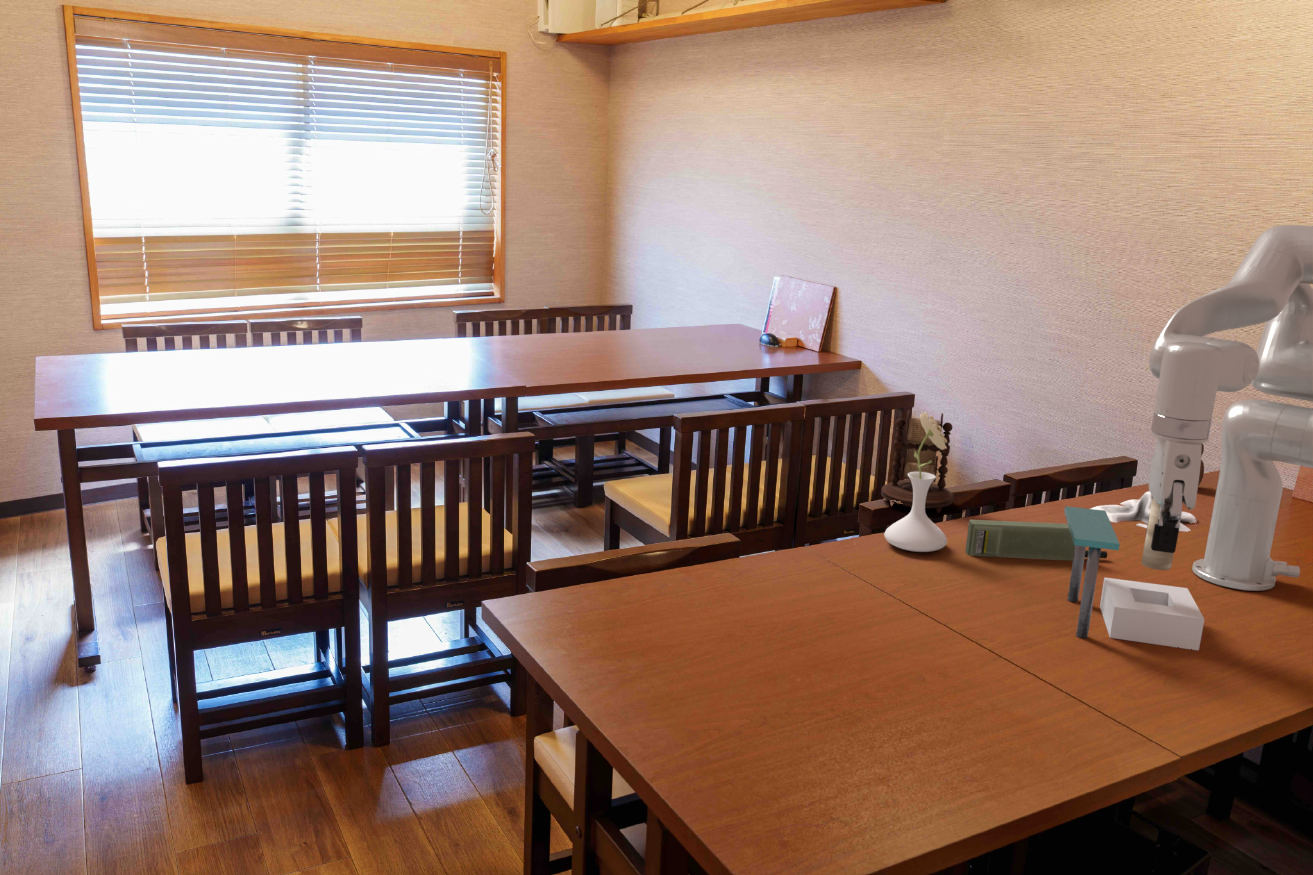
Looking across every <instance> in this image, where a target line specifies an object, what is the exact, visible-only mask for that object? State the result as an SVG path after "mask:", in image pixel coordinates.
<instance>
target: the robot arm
mask: <svg viewBox="0 0 1313 875" xmlns="http://www.w3.org/2000/svg"><path fill="white" fill-rule="evenodd" d="M1311 285H1313V225H1297V224H1296V225H1295V224H1289V225H1288V224H1284V225H1277V226H1273V227H1270V228H1268V229H1266V230H1265V231H1263V232H1261V233H1260V235H1259V236H1258V237H1257V238H1256V240H1255V241H1254V243H1253V245H1251V247H1250V249H1249V250H1248V252H1247V254H1246V255H1245V256H1244V258H1243V260H1242V262H1240V264H1239V266H1238V267H1237V268H1236V270H1235V272H1234V274H1233V275H1232V277H1230V280H1229V282H1228V283H1227V284H1226V285H1224V286H1221V287H1219V288H1216V289H1214V290H1211V291H1209V292H1207V293H1206V294H1204V295H1201V296H1199V297H1198V298H1195V299H1193V300H1191V301H1190V302H1188V303H1186V304H1184V305H1183V306H1181V307H1180V308H1179V309H1177V310H1176V311H1175V312H1174V313H1173V314H1172V316H1170V317H1169V319H1168V320H1167V322H1166V324H1164V327H1163V328H1162V329H1161V331H1160V333H1159V334H1158V335H1157V337H1156V339H1155V341H1154V343H1153V344H1152V347H1151V351H1150V354H1149V358H1148V365H1149V366H1148V367H1149V370H1150V372H1151V374H1152V375H1153V376H1154V378H1156V379H1157V380H1158V384H1157V388H1156V389H1157V391H1156V396H1155V402H1154V406H1153V407H1154V409H1153V414H1152V421H1151V427H1150V432H1149V435H1151V436H1152V437H1155V438H1156V439H1155V443H1154V444H1155V445H1154V450H1153V455H1152V459H1151V460H1152V461H1151V465H1150V471H1149V472H1150V473H1149V478H1148V490H1149V491H1150V493H1151V495H1152V496H1153V499H1155V501H1156V502H1157V503H1158V504H1159V505H1160V507H1159V515H1158V523H1157V524H1155V526H1154V532H1153V538H1152V543H1151V549H1152V550H1153V551H1160V552H1168V553H1176V550H1177V549H1176V548H1177V544H1178V538H1179V532H1180V531H1179V526H1180V523H1181V522H1180V519H1181V514H1182V512H1183V511H1182V510H1183V504H1184V506H1185V507H1186V508H1187V509H1188V511H1192V510H1194V508H1196V505H1197V495H1198V487H1199V486H1198V482H1199V474H1200V465H1201V459H1202V456H1201V451H1202V443H1203V444H1204V443H1205V444H1206V443H1208V442H1209V437H1210V431H1211V430H1210V429H1211V425H1212V418H1213V412H1214V407H1215V401H1216V398H1217V397H1216V396H1217V392H1223V393H1224V392H1225V393H1236V392H1239V391H1242V390H1244V389H1246V388H1248V386H1250V385H1251V386H1252V387H1253V388H1254V389H1256V390H1257V391H1259V392H1261V393H1264V394H1267V395H1273V396H1277V397H1283V398H1290V399H1295V400H1301V401H1306V402H1307V401H1308V402H1313V286H1311ZM1263 323H1264V328H1263V330H1262V334H1261V337H1260V339H1259V342H1258V344H1257V349H1256V350H1255V349H1254V348H1253V347H1252V346H1251V345H1250V344H1247V343H1244V342H1240V341H1236V340H1230V339H1224V338H1223V339H1221V338H1216V337H1210V336H1209V337H1208V336H1207V335H1210V334H1213V333H1217V332H1222V331H1223V332H1224V331H1227V330H1234V329H1241V328H1245V327H1251V326H1255V325H1259V324H1263ZM1220 458H1221V460H1220V469H1219V474H1218V479H1217V487H1216V491H1215V497H1214V502H1213V507H1212V514H1211V519H1210V524H1209V530H1208V536H1207V541H1206V547H1205V553H1204V558H1200V559H1197V560H1195V561H1194V562H1192V563H1193V564H1192V569H1191V570H1192V572H1193V573H1194V574H1195V575H1197V577H1199V578H1201V579H1202V580H1204V581H1207V582H1209V583H1212V584H1215V585H1218V586H1221V587H1226V588H1229V589H1235V590H1240V591H1241V590H1242V591H1251V592H1252V591H1254V592H1258V591H1259V592H1260V591H1261V592H1263V591H1268V590H1271V589H1273V588H1274V587H1275V585H1276V581H1277V580H1276V577H1278V576H1285V577H1290V578H1296V579H1297V578H1299V577H1300V574H1301V568H1300V566H1299V565H1290V564H1288V563H1287V562H1286V561H1280V560H1273V558H1272V557H1271V556H1270V554H1271V551H1272V550H1271V549H1272V545H1273V539H1274V536H1275V535H1274V534H1275V530H1276V525H1277V519H1278V516H1279V515H1278V514H1279V511H1280V510H1279V509H1280V505H1281V498H1282V496H1283V489H1284V488H1283V480H1282V477H1281V474H1280V472H1279V470H1278V468H1277V467H1276V465H1275V462H1280V463H1284V464H1291V465H1296V466H1300V467H1305V468H1310V469H1313V408H1311V407H1305V406H1299V405H1294V404H1289V403H1283V402H1277V401H1271V400H1265V399H1264V400H1263V399H1256V398H1255V399H1254V398H1253V399H1252V398H1251V399H1250V398H1247V399H1241V400H1238V401H1236V402H1234V403H1232V404H1231V405H1230V406H1229V407H1227V409H1226V410H1225V412H1224V414H1223V417H1222V421H1221V457H1220ZM1165 501H1169V502H1171V505H1164V504H1166V503H1165ZM1165 509H1167V510H1169V512H1166V513H1165V515H1164V512H1165ZM1149 515H1150V514H1149ZM1148 521H1149V519H1148ZM1146 525H1147V527H1148V524H1146ZM1146 533H1147V530H1145V534H1146Z"/></svg>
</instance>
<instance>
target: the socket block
mask: <svg viewBox="0 0 1313 875" xmlns="http://www.w3.org/2000/svg"><path fill="white" fill-rule="evenodd" d="M1099 608H1100V611H1101V614H1102V616H1103V617H1102V618H1103V621H1104V624H1105V627H1106V630H1107V634H1108V636H1109V639H1117V640H1125V641H1131V642H1138V643H1142V644H1143V643H1145V644H1151V645H1157V646H1163V647H1166V646H1167V647H1171V648H1178V647H1179V648H1180V649H1185V650H1191V649H1192V650H1193V651H1199V650H1200V645H1201V640H1202V636H1203V635H1202V634H1203V631H1204V630H1203V629H1204V624H1205V617H1204V615H1203V614H1202V612H1201V611H1200V608H1199V607H1198V604H1197V603H1196V602H1195V598H1193V596H1192V594H1191V592H1190V590H1189V588H1187V587H1180V586H1173V585H1166V584H1158V583H1152V582H1142V581H1135V580H1126V579H1119V578H1113V577H1103V584H1102V590H1101V599H1100V604H1099Z"/></svg>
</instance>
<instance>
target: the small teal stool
mask: <svg viewBox="0 0 1313 875" xmlns="http://www.w3.org/2000/svg"><path fill="white" fill-rule="evenodd" d="M1063 511H1064V512H1063V513H1064V516H1065V519H1066V524H1068V526H1069V530H1070V533H1071V536H1072V540H1073V543H1074V545H1075V550H1074V557H1073V561H1072V565H1071V566H1072V567H1071V571H1070V572H1071V573H1070V579H1069V586H1068V587H1069V588H1068V593H1067V601H1068V602H1071V603H1078V602H1079V596H1080V590H1081V582H1082V577H1083V569H1084V563H1085V558H1087V560H1086V567H1085V573H1084V580H1083V586H1082V592H1081V593H1082V594H1081V600H1080V607H1079V611H1078V612H1079V613H1078V619H1077V625H1076V626H1077V627H1076V633H1075V636H1076V638H1079V639H1083V640H1084V639H1088V638H1089V637H1088V636H1089V630H1090V625H1091V617H1092V613H1093V612H1092V611H1093V603H1094V597H1095V590H1096V584H1097V577H1098V571H1099V566H1100V559H1101V558H1100V552H1101V551H1102V549H1104V550H1112V551H1113V550H1114V551H1120V541H1119V540H1118V536H1117V535H1116V532H1115V530H1114V528H1113V525H1112V522H1111V521H1110V520H1109V518H1108V516H1107V513H1106V511H1104V510H1095V509H1091V508H1084V507H1077V506H1066V505H1065V506H1064V510H1063ZM1087 548H1088V550H1089V551H1088V557H1085V550H1087Z"/></svg>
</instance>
